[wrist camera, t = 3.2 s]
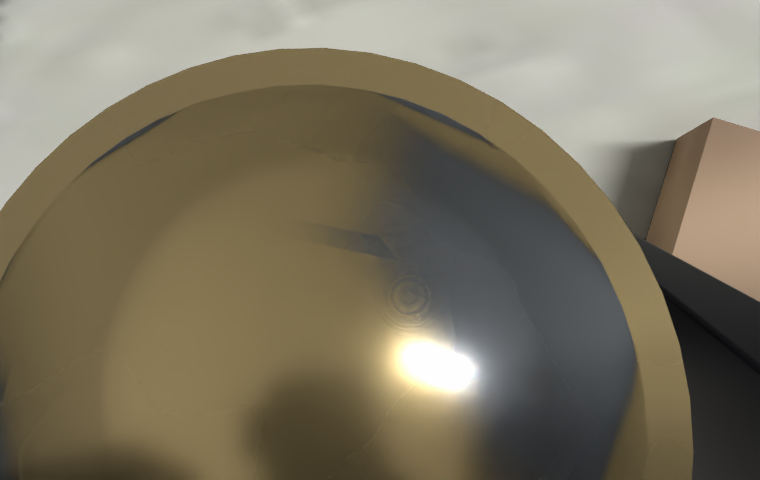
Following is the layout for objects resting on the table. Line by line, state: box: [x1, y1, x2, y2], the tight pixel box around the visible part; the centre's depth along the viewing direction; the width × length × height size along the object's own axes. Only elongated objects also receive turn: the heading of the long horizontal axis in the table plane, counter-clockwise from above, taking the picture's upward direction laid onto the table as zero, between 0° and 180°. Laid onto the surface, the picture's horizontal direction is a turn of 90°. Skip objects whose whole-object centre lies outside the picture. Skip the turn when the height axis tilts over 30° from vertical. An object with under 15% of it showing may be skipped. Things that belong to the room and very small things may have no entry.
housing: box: [0, 48, 693, 480], centre depth 10 cm, size 6×6×13 cm
